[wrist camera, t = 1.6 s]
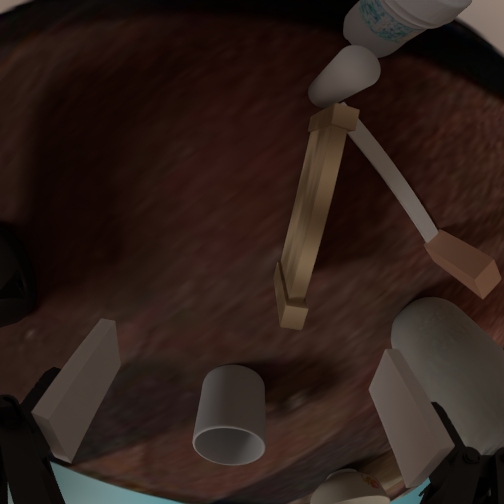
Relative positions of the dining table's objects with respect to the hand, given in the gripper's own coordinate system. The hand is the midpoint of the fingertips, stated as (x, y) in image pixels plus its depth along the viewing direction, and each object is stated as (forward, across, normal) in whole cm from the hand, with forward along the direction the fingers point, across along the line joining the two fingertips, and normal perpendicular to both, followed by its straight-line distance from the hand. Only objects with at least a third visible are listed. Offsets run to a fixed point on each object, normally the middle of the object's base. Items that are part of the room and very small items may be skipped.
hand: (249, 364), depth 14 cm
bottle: (+21, +10, +25) cm, 34 cm away
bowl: (+21, +24, -47) cm, 57 cm away
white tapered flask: (+21, +22, -8) cm, 32 cm away
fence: (+21, +14, +9) cm, 27 cm away
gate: (+20, +4, +5) cm, 21 cm away
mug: (+21, 0, -23) cm, 31 cm away
